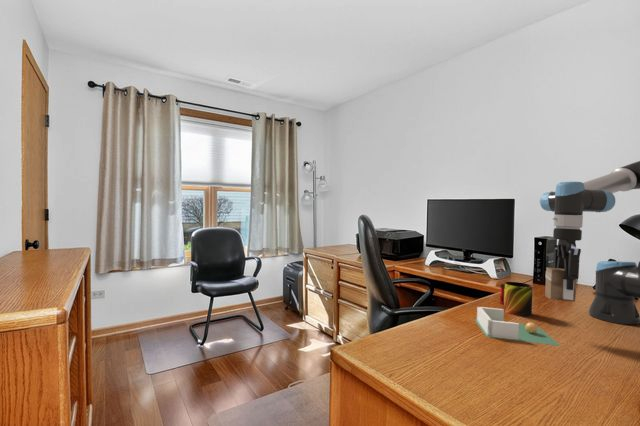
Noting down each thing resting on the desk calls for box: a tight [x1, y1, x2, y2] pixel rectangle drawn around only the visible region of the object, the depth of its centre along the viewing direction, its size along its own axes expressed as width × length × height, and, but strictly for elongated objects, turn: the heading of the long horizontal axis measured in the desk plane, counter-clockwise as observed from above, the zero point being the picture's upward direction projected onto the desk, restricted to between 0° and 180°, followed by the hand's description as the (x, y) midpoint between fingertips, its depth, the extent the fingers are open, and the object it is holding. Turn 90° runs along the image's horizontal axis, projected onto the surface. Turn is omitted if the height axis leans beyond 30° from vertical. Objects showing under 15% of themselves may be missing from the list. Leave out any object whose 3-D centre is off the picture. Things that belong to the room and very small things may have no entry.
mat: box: [474, 318, 562, 347], centre depth 109 cm, size 21×18×1 cm
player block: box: [544, 266, 577, 303], centre depth 107 cm, size 7×5×10 cm, turn 74°
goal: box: [476, 306, 520, 341], centre depth 110 cm, size 9×16×5 cm, turn 165°
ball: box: [525, 321, 538, 333], centre depth 107 cm, size 4×4×4 cm
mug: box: [499, 281, 534, 318], centre depth 132 cm, size 10×14×12 cm
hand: (564, 297), depth 107 cm, fingers closed on player block, 5 cm apart
